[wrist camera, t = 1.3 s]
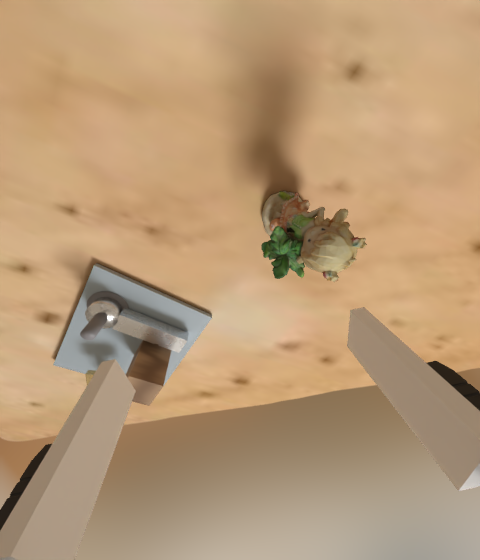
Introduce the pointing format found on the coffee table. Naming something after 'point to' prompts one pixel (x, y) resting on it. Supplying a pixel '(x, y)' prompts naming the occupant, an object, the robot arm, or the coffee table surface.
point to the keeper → (89, 375)
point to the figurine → (307, 237)
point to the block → (148, 371)
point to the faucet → (137, 324)
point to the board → (116, 345)
